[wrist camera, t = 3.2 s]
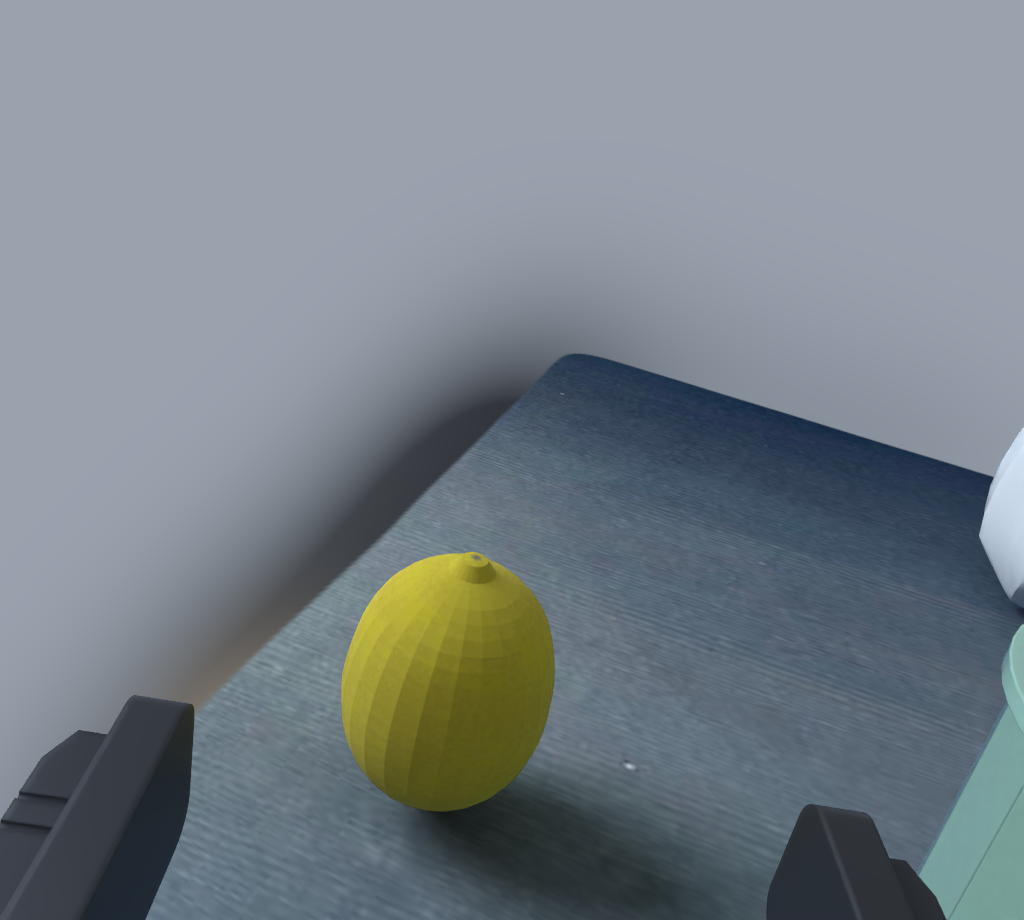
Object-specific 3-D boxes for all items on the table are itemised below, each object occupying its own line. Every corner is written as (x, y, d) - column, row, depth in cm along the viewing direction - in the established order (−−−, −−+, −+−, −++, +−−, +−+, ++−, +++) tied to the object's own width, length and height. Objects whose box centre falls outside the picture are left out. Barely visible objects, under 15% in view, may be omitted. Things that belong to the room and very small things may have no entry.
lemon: (533, 881, 25) (605, 634, 22) (319, 873, 24) (361, 611, 21) (507, 734, 30) (563, 514, 27) (329, 722, 29) (364, 490, 26)
